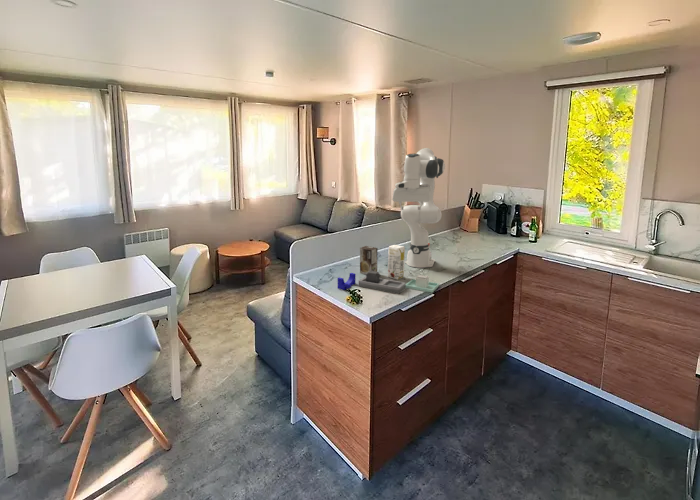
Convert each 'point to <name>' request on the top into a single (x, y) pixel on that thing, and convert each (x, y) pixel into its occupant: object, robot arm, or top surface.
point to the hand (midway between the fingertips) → (410, 209)
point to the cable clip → (348, 284)
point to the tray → (430, 288)
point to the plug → (422, 281)
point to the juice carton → (396, 261)
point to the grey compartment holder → (381, 283)
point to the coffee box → (368, 259)
